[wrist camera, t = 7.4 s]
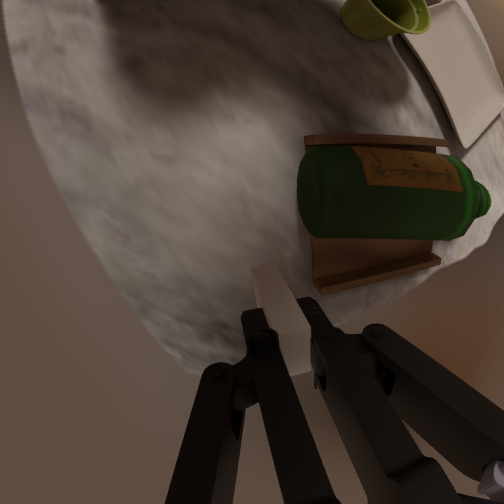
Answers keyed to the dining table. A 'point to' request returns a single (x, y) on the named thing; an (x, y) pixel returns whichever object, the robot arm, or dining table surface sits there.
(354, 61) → the dining table surface
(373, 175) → the bottle
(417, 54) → the salad plate
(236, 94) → the dining table surface
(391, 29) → the plant pot
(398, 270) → the cradle
